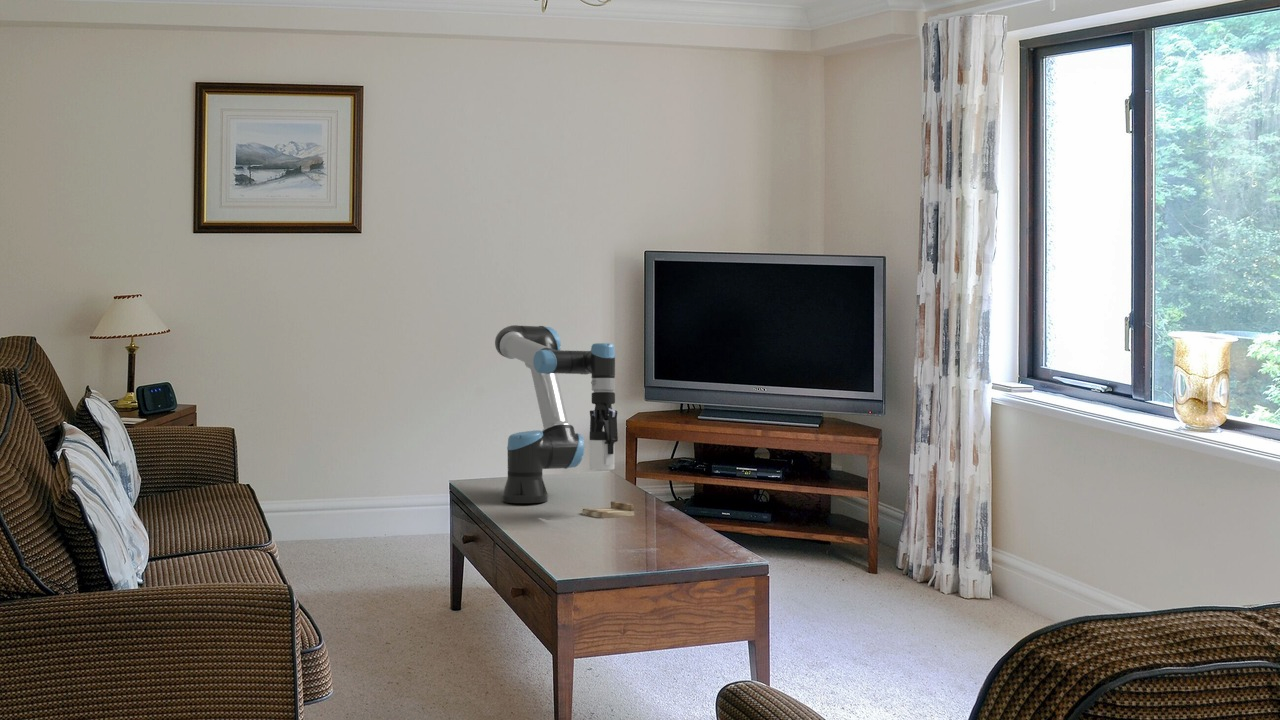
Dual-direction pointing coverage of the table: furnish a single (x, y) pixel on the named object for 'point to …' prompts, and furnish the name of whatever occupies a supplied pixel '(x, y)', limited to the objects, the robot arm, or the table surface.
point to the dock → (611, 511)
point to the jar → (598, 451)
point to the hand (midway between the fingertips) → (603, 464)
